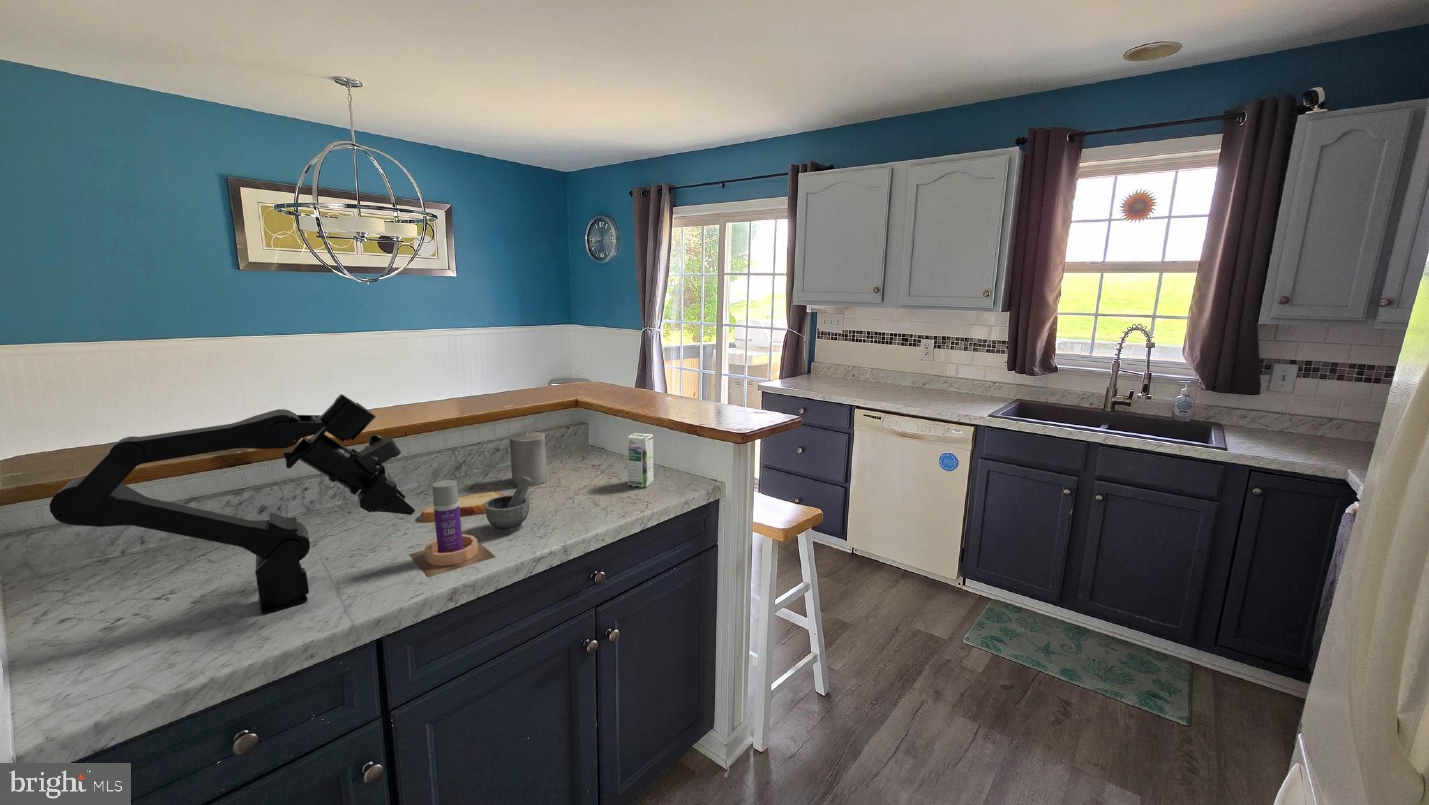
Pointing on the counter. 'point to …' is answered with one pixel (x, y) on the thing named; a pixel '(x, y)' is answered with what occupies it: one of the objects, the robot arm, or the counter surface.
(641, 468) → the syrup box
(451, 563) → the terracotta dish
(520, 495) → the mortar and pestle
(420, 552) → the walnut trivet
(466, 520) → the counter surface
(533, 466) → the pillar candle
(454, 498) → the container
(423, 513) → the bread slice
